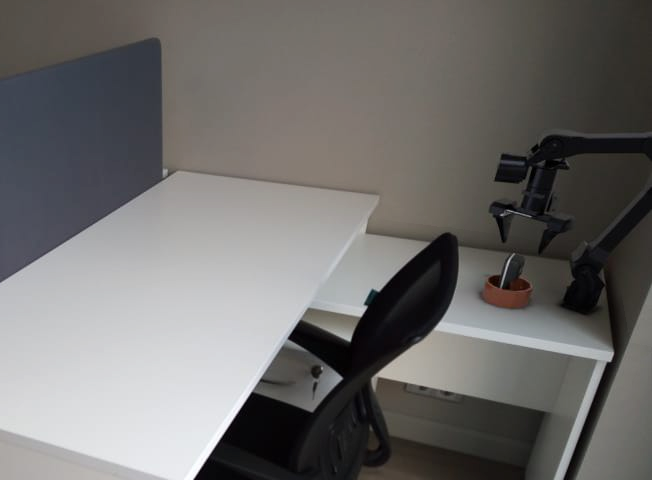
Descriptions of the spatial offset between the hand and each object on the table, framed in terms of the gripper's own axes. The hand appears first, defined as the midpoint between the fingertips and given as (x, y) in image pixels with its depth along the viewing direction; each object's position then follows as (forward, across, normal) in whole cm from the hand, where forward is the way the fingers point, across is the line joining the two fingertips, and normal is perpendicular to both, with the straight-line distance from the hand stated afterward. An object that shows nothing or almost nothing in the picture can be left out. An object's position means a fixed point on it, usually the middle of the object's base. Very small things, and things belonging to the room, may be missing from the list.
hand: (521, 248), depth 179 cm
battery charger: (+13, 0, +2) cm, 13 cm away
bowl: (+13, 0, +2) cm, 13 cm away
